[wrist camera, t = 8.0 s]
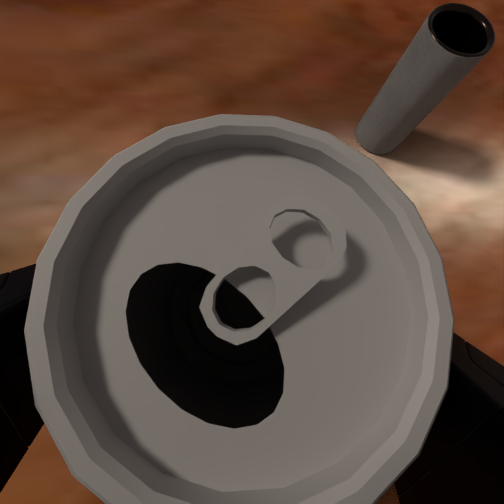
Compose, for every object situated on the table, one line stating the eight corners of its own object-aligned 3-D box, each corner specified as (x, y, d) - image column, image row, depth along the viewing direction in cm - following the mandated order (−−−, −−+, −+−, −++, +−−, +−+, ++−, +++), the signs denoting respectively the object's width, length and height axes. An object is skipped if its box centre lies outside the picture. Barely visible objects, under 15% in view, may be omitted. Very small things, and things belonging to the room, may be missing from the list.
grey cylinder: (395, 160, 26) (496, 64, 16) (352, 148, 26) (425, 45, 16) (400, 123, 27) (497, 11, 17) (358, 112, 27) (430, -6, 17)
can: (146, 311, 15) (-177, 294, 3) (238, 224, 16) (246, 4, 5) (239, 410, 14) (264, 893, 2) (326, 307, 16) (601, 284, 4)
